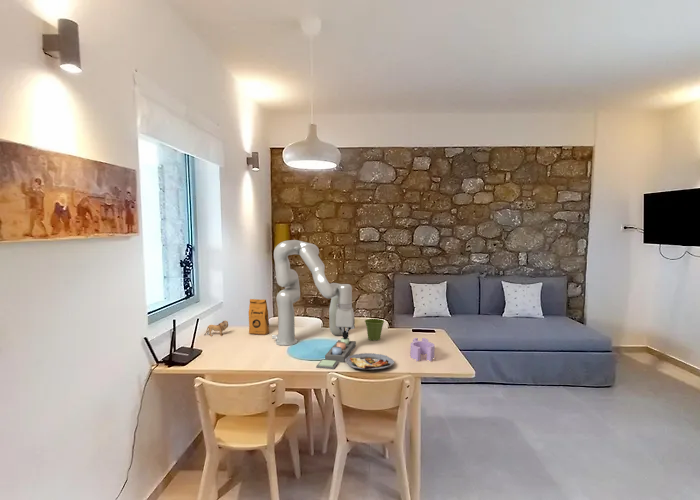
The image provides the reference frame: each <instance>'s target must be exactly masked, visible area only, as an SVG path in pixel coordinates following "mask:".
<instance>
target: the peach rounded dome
mask: <svg viewBox="0 0 700 500" xmlns="http://www.w3.org/2000/svg"><path fill="white" fill-rule="evenodd" d="M337 347H341V348H342V350H346V343H345V342H338V343H337Z"/></svg>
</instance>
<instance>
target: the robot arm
mask: <svg viewBox="0 0 700 500" xmlns="http://www.w3.org/2000/svg"><path fill="white" fill-rule="evenodd" d="M319 254H320V249H319V247H318V246H317V245H316V244H314V243H311V242H307V241H302V240H298V239H291V240H288V239H287V240H284V241H281V242H280V243H277V245H276V246H275V247H274V250H273V259H274V268H275V278H276V284H277V285H278V286H279V287H282V288H284V289H282V290H279V292H277V294H276V298H275V299H276V300H275V301H276V306H277V333H278V334H272V335H271V338H272V339H275V344H276V345H278V346H293V345H295V344H297V343H298V339H297V338H295V335H296V334H295V330H296V329H295V307H294V303H296V302H298V301H299V300H300V297H301V287H300V280H299V275H298V272H297V271H296V270H295V269H293V268H291V263H290V259H289V256H292V255H299V256H300V257H301V259H302V260H303V262H304V264H305V265H306V266H307V268H308V270H309V271H310V273H311V275H312V279H313V282H314V285H315V287H316V288H317V290H318V291H319V294H321V295H322V297H324V298H325V299H331V298H332V297H334V296H338V304H336V306H337V307H338V309H337V312H336V328H339V329H340V330H341V331H342V332H343V334H342V338H343V339H347V338H349V332H350V331H351V330H354V329H355V328H356V326H355V323H356V321H355V312H354V308H353V292H352V290H353V287H352V285H351V284H350V283H337V282H329V281H328V279H327V276H326V275H325V274H326V273H325V268H326V266H325V264H324V262H323V260H322V259H321V258H320V256H319ZM345 327H346V329H345Z"/></svg>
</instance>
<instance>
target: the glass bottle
mask: <svg viewBox="0 0 700 500" xmlns="http://www.w3.org/2000/svg"><path fill="white" fill-rule="evenodd" d="M330 299H331V300H330V304H329V310H328V315H329V316H328V317H329V319H328V320H329V324H328V325H329V331H330V332H331V334H333V335H334V336H343V332H342V331H341V330H340V329H339V328H336V312H337V309H338V307H337V306H336V304H338V296H334V297H332V298H330ZM345 330H346V327H345Z"/></svg>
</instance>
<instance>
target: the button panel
mask: <svg viewBox="0 0 700 500" xmlns="http://www.w3.org/2000/svg"><path fill="white" fill-rule="evenodd" d="M338 342H341V339H339V340H337V341H336V342H335V343H334V345H332V347H331V348H330V349H329V350H328V351H327V352H326V354H325V355H324V356H325V357H324V360H332V361H339V363H346V362H345V358H347V357H349V356H351V353H352V352H353V351H354V349H355V348H356V346H357V345H356V341H355V340H349V345H346V350H342V355H333V354H332V348H333V347H337V343H338Z"/></svg>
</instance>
